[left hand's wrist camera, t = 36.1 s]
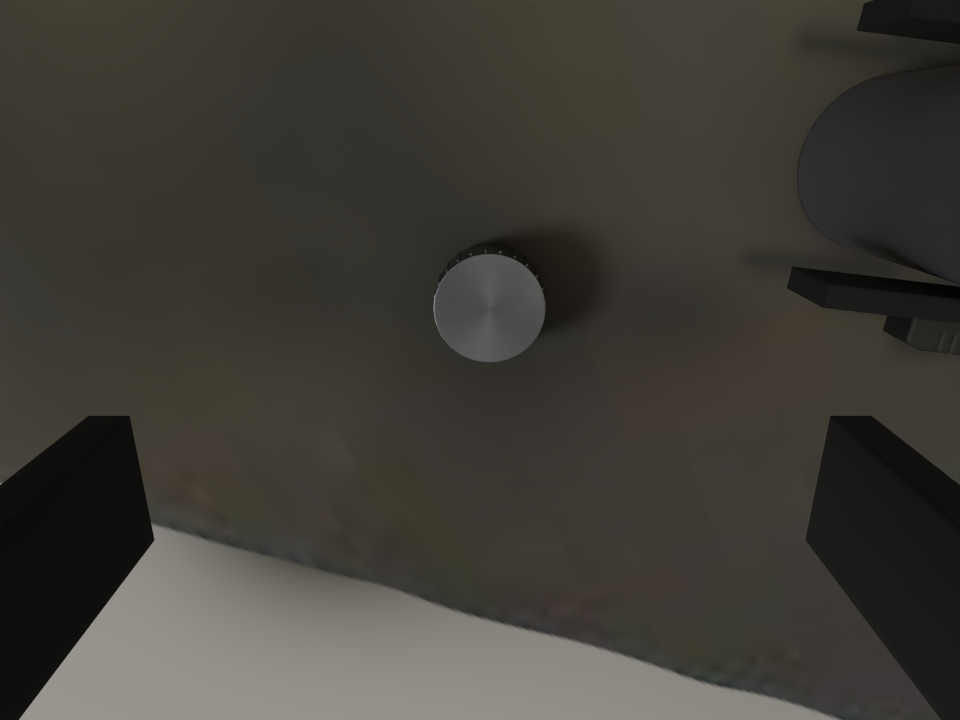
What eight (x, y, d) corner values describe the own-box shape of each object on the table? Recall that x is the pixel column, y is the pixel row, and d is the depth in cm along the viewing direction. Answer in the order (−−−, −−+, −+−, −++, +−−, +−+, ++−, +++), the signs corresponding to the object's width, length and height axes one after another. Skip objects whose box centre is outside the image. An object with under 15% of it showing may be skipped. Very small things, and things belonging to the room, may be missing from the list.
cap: (547, 246, 28) (552, 256, 26) (537, 349, 30) (541, 366, 28) (438, 239, 28) (434, 249, 26) (434, 343, 30) (430, 360, 28)
